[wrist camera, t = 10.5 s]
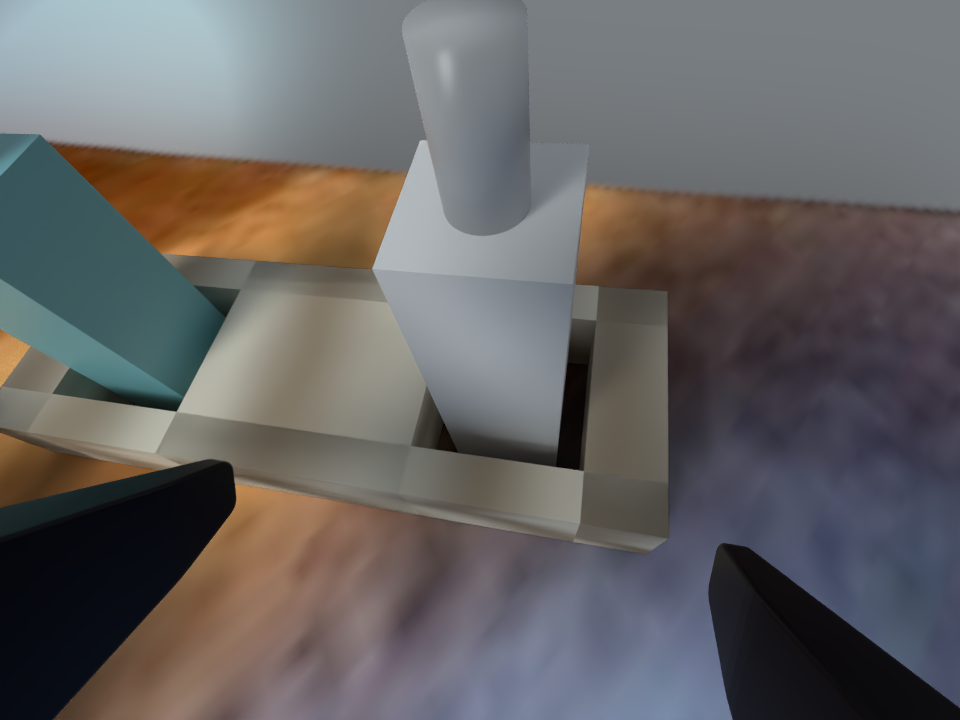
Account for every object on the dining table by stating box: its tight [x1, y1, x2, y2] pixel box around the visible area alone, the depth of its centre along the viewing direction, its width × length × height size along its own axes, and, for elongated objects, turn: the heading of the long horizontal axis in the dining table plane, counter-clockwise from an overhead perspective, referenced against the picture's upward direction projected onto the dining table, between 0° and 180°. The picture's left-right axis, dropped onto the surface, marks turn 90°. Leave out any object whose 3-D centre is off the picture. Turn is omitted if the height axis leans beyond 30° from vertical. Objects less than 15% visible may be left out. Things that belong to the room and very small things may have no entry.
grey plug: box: [372, 0, 589, 467], centre depth 12 cm, size 3×3×13 cm
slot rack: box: [0, 254, 669, 554], centre depth 17 cm, size 22×8×3 cm, turn 79°
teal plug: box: [0, 134, 226, 412], centre depth 14 cm, size 3×3×13 cm
